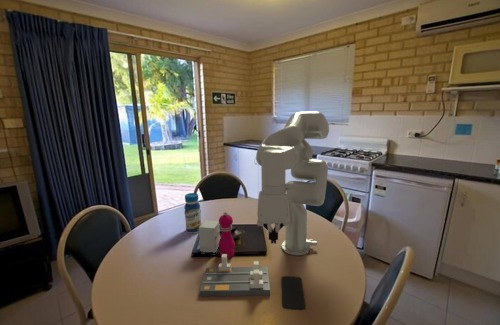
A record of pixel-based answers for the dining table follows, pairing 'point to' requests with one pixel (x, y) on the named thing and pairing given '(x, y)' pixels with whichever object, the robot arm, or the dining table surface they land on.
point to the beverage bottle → (192, 213)
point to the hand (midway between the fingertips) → (273, 241)
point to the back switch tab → (224, 264)
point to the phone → (292, 293)
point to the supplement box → (209, 236)
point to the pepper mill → (226, 236)
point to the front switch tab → (256, 281)
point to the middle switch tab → (256, 267)
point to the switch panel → (232, 282)
